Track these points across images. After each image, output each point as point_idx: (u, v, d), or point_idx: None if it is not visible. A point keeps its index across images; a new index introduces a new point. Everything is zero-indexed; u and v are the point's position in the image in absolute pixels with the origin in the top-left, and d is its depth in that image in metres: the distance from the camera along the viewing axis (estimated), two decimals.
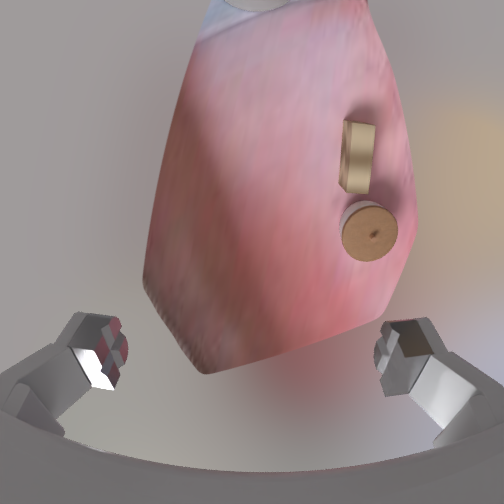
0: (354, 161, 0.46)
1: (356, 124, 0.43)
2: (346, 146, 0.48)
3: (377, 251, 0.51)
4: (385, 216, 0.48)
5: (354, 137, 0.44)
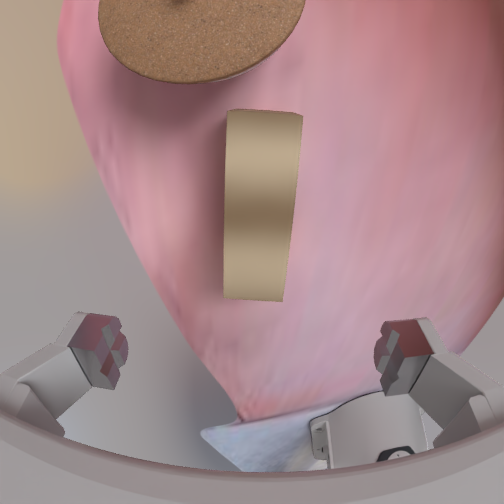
0: (280, 210, 0.17)
1: (272, 298, 0.20)
2: None
3: None
4: (150, 57, 0.12)
5: (278, 269, 0.19)
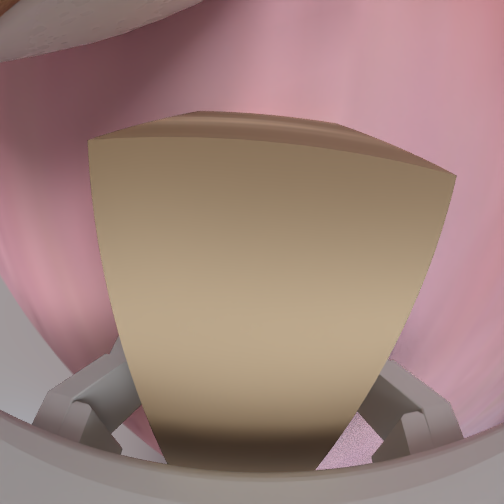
0: (303, 439, 0.05)
1: None
2: None
3: None
4: None
5: None
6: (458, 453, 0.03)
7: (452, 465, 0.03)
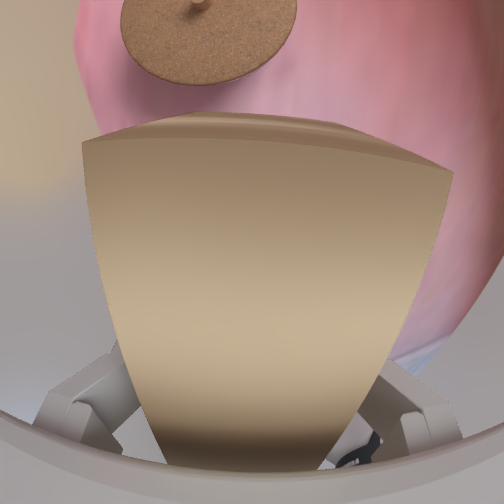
0: (303, 440, 0.05)
1: None
2: None
3: None
4: (167, 63, 0.14)
5: None
6: (458, 453, 0.03)
7: (452, 465, 0.03)
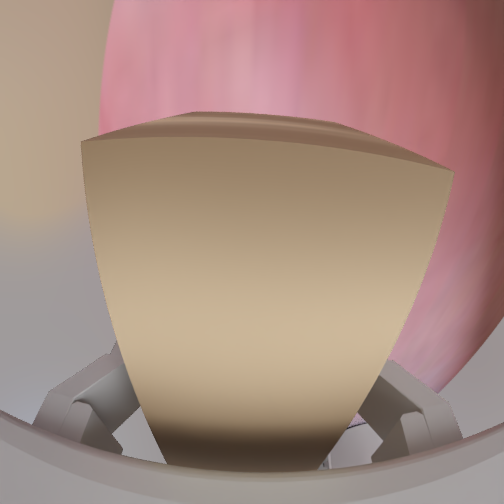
0: (303, 440, 0.05)
1: None
2: None
3: None
4: None
5: None
6: (458, 453, 0.03)
7: (452, 465, 0.03)
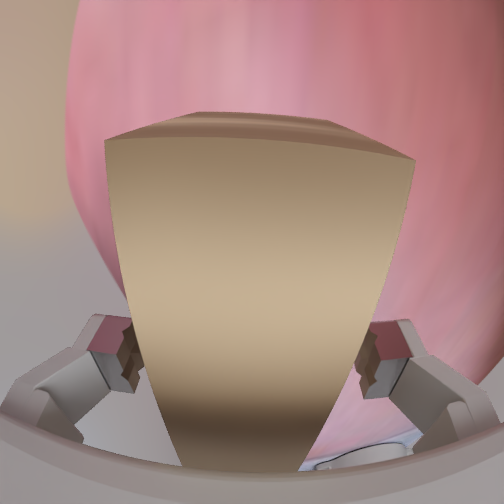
0: (297, 412, 0.06)
1: None
2: None
3: None
4: None
5: (284, 467, 0.08)
6: (458, 453, 0.03)
7: (452, 465, 0.03)
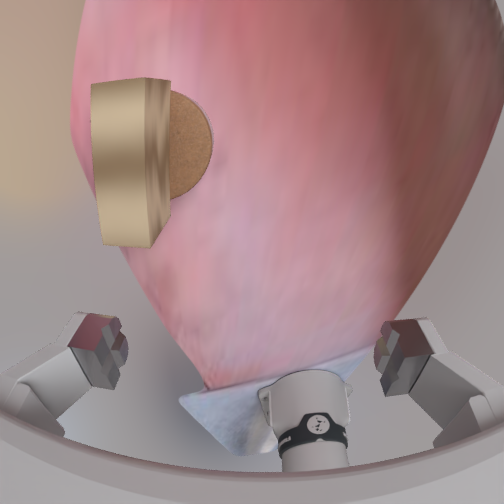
0: (133, 161, 0.18)
1: (141, 245, 0.21)
2: (158, 178, 0.22)
3: None
4: None
5: (140, 216, 0.20)
6: (458, 453, 0.03)
7: (452, 465, 0.03)
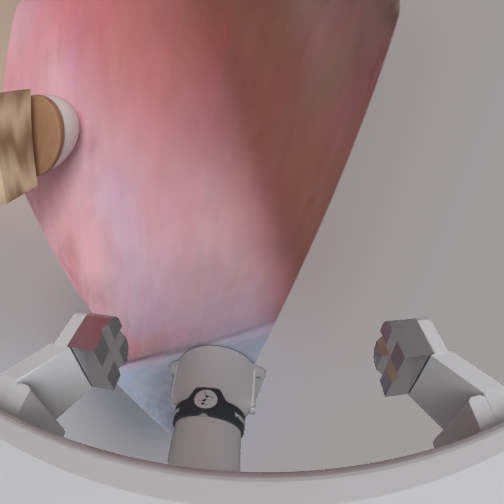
0: None
1: (2, 201, 0.23)
2: (17, 156, 0.24)
3: None
4: None
5: None
6: (458, 453, 0.03)
7: (452, 465, 0.03)
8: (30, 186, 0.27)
